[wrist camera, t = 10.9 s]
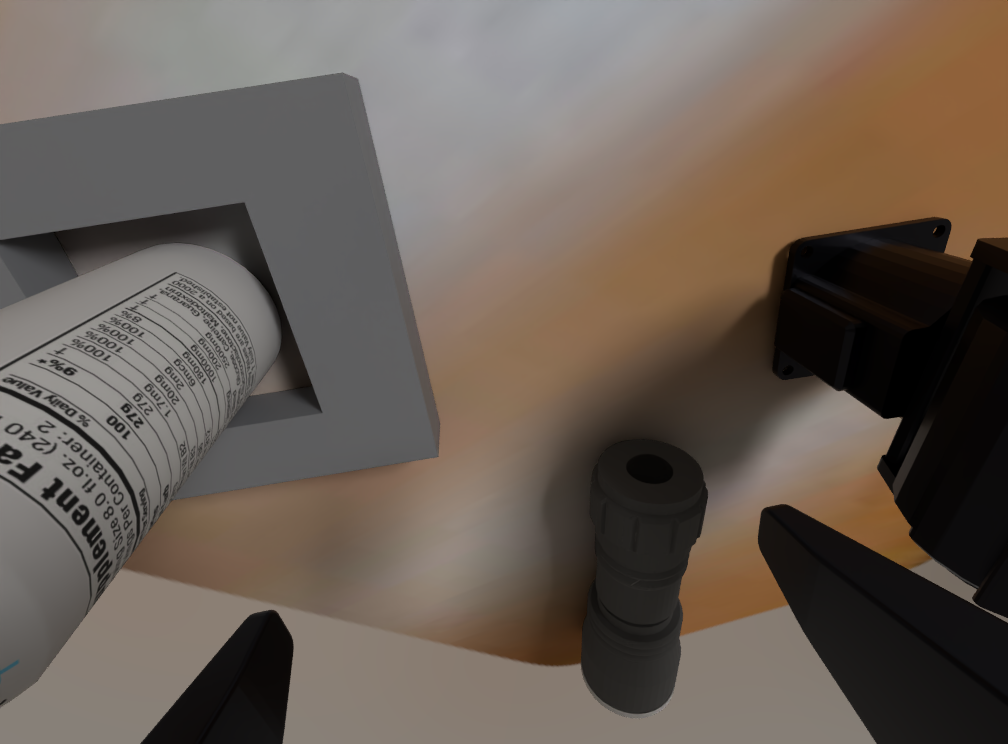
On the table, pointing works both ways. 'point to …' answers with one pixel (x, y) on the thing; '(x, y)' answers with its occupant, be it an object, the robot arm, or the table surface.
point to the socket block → (285, 244)
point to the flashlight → (639, 573)
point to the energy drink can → (111, 425)
